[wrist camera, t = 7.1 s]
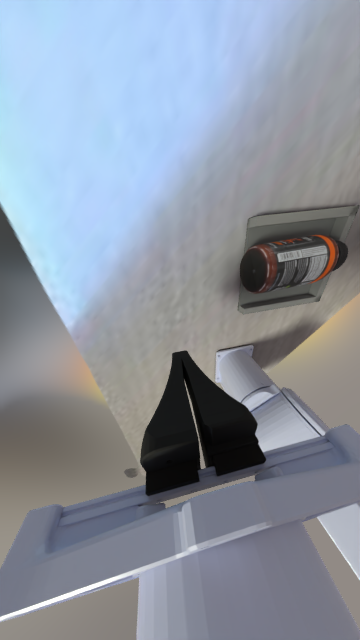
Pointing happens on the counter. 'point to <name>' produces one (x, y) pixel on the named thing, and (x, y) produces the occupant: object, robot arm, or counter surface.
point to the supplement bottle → (290, 262)
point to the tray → (291, 227)
